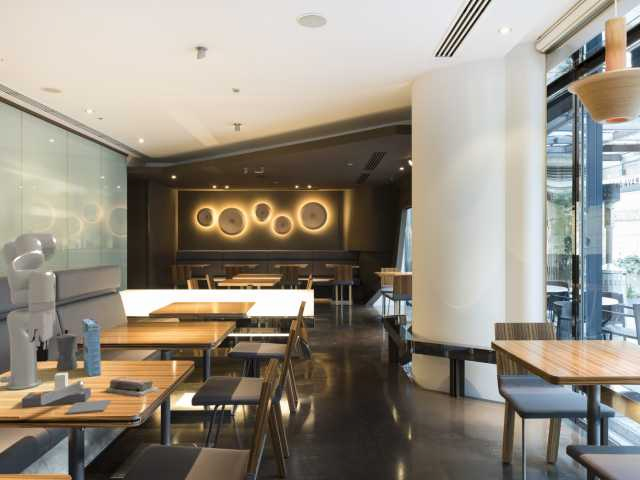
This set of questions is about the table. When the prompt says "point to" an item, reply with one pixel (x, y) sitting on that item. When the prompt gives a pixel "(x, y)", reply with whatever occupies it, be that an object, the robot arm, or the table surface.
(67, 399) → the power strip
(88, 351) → the gum box
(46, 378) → the table surface
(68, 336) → the coffeepot
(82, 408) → the mat
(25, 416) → the table surface
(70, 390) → the grey long bar
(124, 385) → the packaged product
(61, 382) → the plug
